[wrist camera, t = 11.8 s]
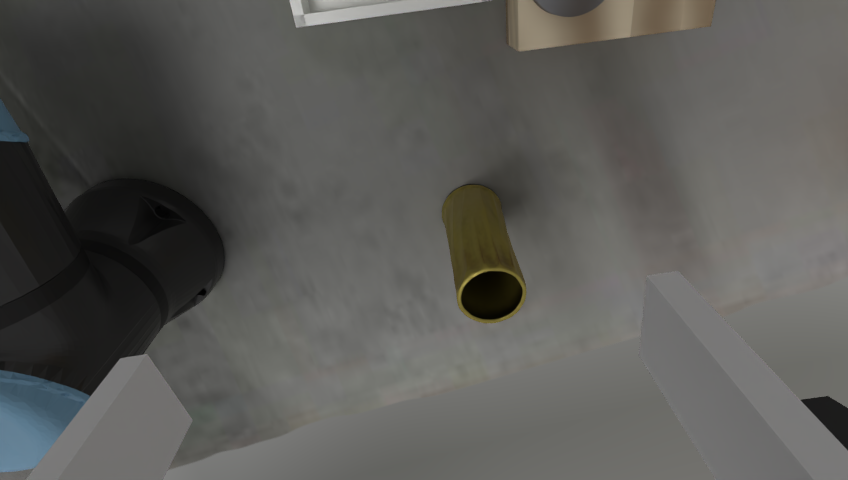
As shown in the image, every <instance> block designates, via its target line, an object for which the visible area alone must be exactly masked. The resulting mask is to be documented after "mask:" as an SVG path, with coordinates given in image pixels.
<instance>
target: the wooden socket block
mask: <svg viewBox="0 0 848 480" xmlns="http://www.w3.org/2000/svg"><path fill="white" fill-rule="evenodd" d="M715 2H716V0H506V34H507V44H508V45H509V46H511V47H512V48H514V49H515V50H517V51H518V52H520V51H528V50H535V49H543V48H550V47H558V46H566V45H573V44H581V43H588V42H596V41H603V40H611V39H619V38H626V37H634V36H641V35H649V34H656V33H664V32H672V31H679V30H687V29H694V28H702V27H709V26H711V23H712V18H713V12H714V7H715Z"/></svg>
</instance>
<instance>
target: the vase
mask: <svg viewBox="0 0 848 480" xmlns="http://www.w3.org/2000/svg"><path fill="white" fill-rule="evenodd" d="M442 219H443V222H444V224H445V228H446V233H447V238H448V243H449V249H450V255H451V262H452V267H453V273H454V281H455V287H456V294H457V303H458V306H459V308H460V310H461V311H462V312H463V313H464V314H465V315H466V316H467V317H469V318H471V319H473V320H475V321H478V322H482V323H496V322H500V321H503V320H506V319H508V318H510V317H512V316H513V315H514V314H516V313H517V312H518V311H519V309H520V308H521V306H522V305H523V303H524V301H525V298H526V284H525V280H524V278H523V275H522V272H521V270H520V267H519V264H518V262H517V259H516V256H515V253H514V251H513V248H512V245H511V242H510V239H509V236H508V233H507V229H506V225H505V221H504V216H503V213H502V208H501V202H500V200H499V198H498V197H497V195H496V194H495V193H494V192H493V191H492V190H490V189H488V188H486V187H484V186H481V185H466V186H462V187H460V188H458V189H456V190H455V191H453V192H452V193H451V194H450V195H449V196H448V198H447V199H446V201H445V203H444V205H443V208H442Z"/></svg>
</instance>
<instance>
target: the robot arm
mask: <svg viewBox="0 0 848 480" xmlns="http://www.w3.org/2000/svg"><path fill="white" fill-rule="evenodd" d="M28 141H30V140H29V138H28V136H27V135H26V134H25V133H23V132H21V130H20V129H19V127H18V126H17V124H16V123H15V121H14V119H13V118H12V116H11V115H10V113H9V111H8V110H7V108H6V107H5V105H4V103H3V102H2V100H1V98H0V472H13V471H21V470H28V469H32V468H34V470H33V471H32V472H31V474H30V475H29V476H28V477H27V479H26V480H163V478H164V476H165V474H166V472H167V470H168V468H169V466H170V464H171V462H172V460H173V458H174V456H175V454H176V452H177V450H178V448H179V446H180V444H181V442H182V440H183V438H184V436H185V434H186V432H187V430H188V428H189V426H190V424H191V422H192V419H191V417H190V416H189V414H188V413H187V411H186V410H185V408H184V407H183V405H182V404H181V403H180V401H179V400H178V398H177V397H176V395H175V394H174V392H173V391H172V389H171V388H170V387H169V385H168V384H167V382H166V381H165V379H164V378H163V376H162V375H161V373H160V372H159V371H158V369H157V368H156V366H155V365H154V363H153V362H152V360H151V359H150V357H149V356H148V355H147V354H145V355H143V353H144V352H145V351H146V349H147V348H148V346H149V345H150V344H151V342H152V341H153V339H154V338H155V337H156V335H157V334H158V332H159V331H160V330H161V328H162V327H163V326H164V325H165V324H167V323H168V322H170V321H171V320H173V319H175V318H176V317H178V316H179V315H181V314H183V313H184V312H186V311H188V310H189V309H191V308H192V307H194V306H196V305H197V304H198V303H200V302H201V301H202V300H203V299H204V298H205V297H206V296H207V295H208V294H209V293H210V292H211V290H212V289H213V287H214V286H215V284H216V283H217V281H218V280H219V278H220V276H221V274H222V271H223V267H224V250H223V245H222V242H221V239H220V237H219V235H218V233H217V231H216V229H215V227H214V226H213V224H212V223H211V221H210V220H209V219H208V218H207V216H206V215H205V214H204V213H203V212H202V211H201V210H200V209H199V208H198V207H197V206H195V205H194V204H193V203H192V202H191V201H189V200H188V199H186V198H185V197H183V196H182V195H180V194H178V193H177V192H175V191H173V190H171V189H169V188H166V187H164V186H161V185H159V184H155V183H152V182H148V181H143V180H136V179H117V180H111V181H107V182H104V183H101V184H99V185H96V186H95V187H93V188H91V189H90V190H88V191H86V192H85V193H83V194H82V195H80V196H79V197H77V198H76V199H75V200H74V201H72V202H71V203H70V204H69V206H68V207H67V208H66V209H65V211H63V209H62V207H61V205H60V203H59V202H58V200H57V198H56V196H55V194H54V192H53V191H52V189H51V187H50V185H49V183H48V181H47V179H46V177H45V175H44V173H43V171H42V169H41V167H40V165H39V163H38V162H37V160H36V158H35V156H34V154H33V152H32V150H31V148H30V146H29V144H28ZM639 356H640V358H641V360H642V361H643V363H644V365H645V366H646V368H647V369H648V371H649V373H650V374H651V376H652V378H653V379H654V381H655V382H656V384H657V386H658V387H659V389H660V390H661V392H662V394H663V395H664V397H665V399H666V400H667V402H668V403H669V405H670V407H671V408H672V410H673V412H674V413H675V414H676V416H677V418H678V419H679V421H680V423H681V424H682V426H683V427H684V429H685V431H686V433H687V434H688V436H689V437H690V439H691V441H692V442H693V444H694V445H695V447H696V449H697V450H698V452H699V453H700V455H701V457H702V458H703V460H704V462H705V463H706V465H707V466H708V468H709V470H710V471H711V473H712V474H713V476H714V478H715V479H716V480H848V408H847V407H845V406H843V405H842V404H840V403H838V402H837V401H835V400H833V399H832V398H830V397H828V396H826V397H818V398H811V399H803V400H800V399H799V398H798V397H797V396H796V395H795V394H794V393H793V392H792V391H791V390H790V389H789V388H788V387H787V386H786V385H785V383H784V382H782V380H781V379H780V378H779V377H778V376H777V375H776V374H775V373H774V372H773V371H772V370H771V369H770V368H769V366H767V364H766V363H765V362H764V361H763V360H762V359H761V358H760V357H759V356H758V355H757V354H756V353H755V352H754V351H753V350H752V348H751V347H750V346H749V345H748V344H747V343H746V342H745V341H744V340H743V339H742V338H741V337H740V336H739V335H738V334H737V333H736V332H735V331H734V330H733V328H732V327H731V326H730V325H729V324H728V323H727V322H726V321H725V320H724V319H723V318H722V317H721V316H720V315H719V313H718V312H717V311H716V310H715V309H714V308H713V307H712V306H711V305H710V304H709V303H708V302H707V301H706V300H705V299H704V298H703V297H702V295H701V294H700V293H699V292H698V291H697V290H696V289H695V288H694V287H693V286H692V285H691V284H690V283H689V282H688V281H687V280H686V279H685V277H684V276H683V275H682V274H681V273H680V272H679V271H674V272H667V273H661V274H655V275H648V276H647V277H646V287H645V297H644V307H643V317H642V327H641V337H640V347H639Z"/></svg>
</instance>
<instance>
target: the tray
mask: <svg viewBox="0 0 848 480" xmlns="http://www.w3.org/2000/svg"><path fill="white" fill-rule="evenodd" d="M486 1H493V0H290V4H291V8H292V12H293V16H294V20H295V24H296V28H298V27H305V26H312V25H319V24H327V23H334V22H341V21H348V20H356V19H363V18H370V17H377V16H385V15H392V14H399V13H406V12H414V11H421V10H428V9H435V8H442V7H450V6H457V5H464V4H471V3H479V2H486Z"/></svg>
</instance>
